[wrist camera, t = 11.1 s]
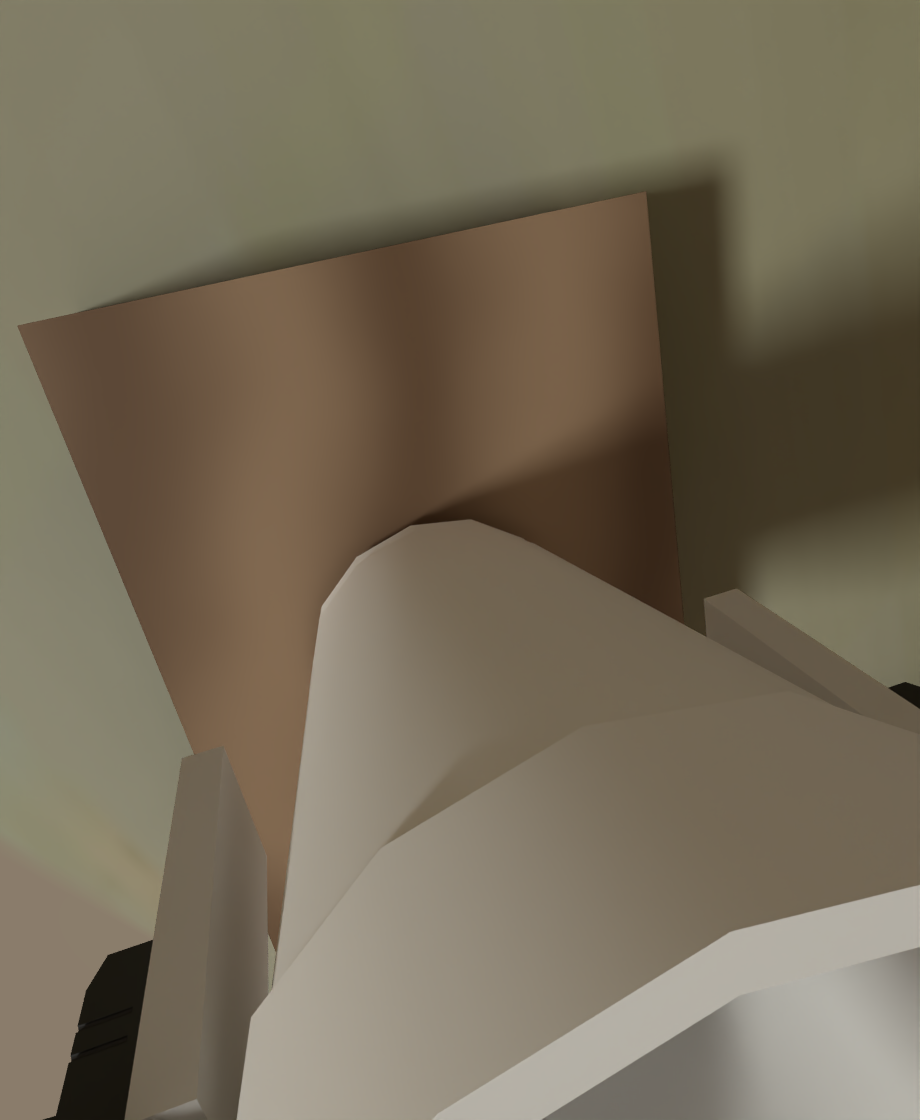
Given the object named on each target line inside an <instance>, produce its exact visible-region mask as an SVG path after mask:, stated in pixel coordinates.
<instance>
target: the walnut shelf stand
mask: <svg viewBox="0 0 920 1120" xmlns="http://www.w3.org/2000/svg"><path fill="white" fill-rule="evenodd" d="M18 329H19V331H20V333H21V336H22V338H23V341H24V343H25V345H26V348H27V350H28V353H29V355H30V358H31V360H32V362H33V365H34V367H35V370H36V372H37V375H38V377H39V379H40V382H41V384H42V387H43V389H44V391H45V394H46V396H47V399H48V401H49V404H50V406H51V408H52V411H53V413H54V416H55V418H56V421H57V423H58V425H59V428H60V430H61V433H62V435H63V438H64V440H65V442H66V445H67V447H68V450H69V452H70V454H71V457H72V459H73V462H74V464H75V467H76V469H77V471H78V474H79V476H80V479H81V481H82V484H83V486H84V488H85V491H86V493H87V496H88V498H89V500H90V503H91V505H92V508H93V510H94V513H95V515H96V517H97V520H98V522H99V525H100V527H101V530H102V532H103V534H104V537H105V539H106V542H107V544H108V546H109V549H110V551H111V554H112V556H113V559H114V561H115V563H116V566H117V568H118V571H119V573H120V576H121V578H122V580H123V583H124V585H125V588H126V590H127V593H128V595H129V597H130V600H131V602H132V605H133V607H134V609H135V612H136V614H137V617H138V619H139V622H140V624H141V626H142V629H143V631H144V634H145V636H146V639H147V641H148V643H149V646H150V648H151V651H152V653H153V655H154V658H155V660H156V663H157V665H158V668H159V670H160V672H161V675H162V677H163V680H164V682H165V685H166V687H167V689H168V692H169V694H170V697H171V699H172V701H173V704H174V706H175V709H176V711H177V714H178V716H179V718H180V721H181V723H182V726H183V728H184V731H185V733H186V735H187V738H188V740H189V743H190V745H191V748H192V750H193V752H194V754H198V753H201V752H204V751H208V750H211V749H214V748H217V747H221V746H224V748H225V751H226V753H227V756H228V759H229V761H230V764H231V766H232V769H233V771H234V774H235V776H236V779H237V781H238V784H239V787H240V789H241V792H242V794H243V797H244V799H245V802H246V804H247V807H248V810H249V812H250V815H251V817H252V820H253V822H254V825H255V827H256V830H257V832H258V835H259V838H260V840H261V843H262V845H263V848H264V850H265V853H266V855H267V918H268V934H269V936H270V939H271V941H272V944H273V946H274V949H275V951H276V950H277V942H278V934H279V926H280V918H281V910H282V902H283V894H284V887H285V879H286V871H287V863H288V855H289V847H290V839H291V831H292V823H293V815H294V807H295V799H296V791H297V783H298V775H299V768H300V760H301V752H302V744H303V736H304V728H305V720H306V712H307V704H308V696H309V688H310V680H311V673H312V666H313V659H314V652H315V645H316V639H317V632H318V625H319V618H320V614H321V607H322V605H323V604H324V602H325V601H326V600H327V598H328V597H329V595H330V594H331V592H332V591H333V590H334V588H335V587H336V585H337V584H338V583H339V581H340V580H341V578H342V577H343V575H344V574H345V573H346V571H347V570H348V568H349V567H350V566H351V564H352V563H353V561H354V560H355V558H356V557H357V556H359V555H361V554H363V553H364V552H366V551H368V550H369V549H371V548H373V547H375V546H376V545H378V544H380V543H381V542H383V541H385V540H387V539H388V538H390V537H392V536H393V535H395V534H397V533H399V532H400V531H402V530H404V529H405V528H407V527H409V526H411V525H420V524H430V523H439V522H449V521H459V520H468V519H472V520H474V521H477V522H480V523H483V524H485V525H488V526H491V527H493V528H496V529H499V530H502V531H504V532H507V533H510V534H513V535H515V536H518V537H521V538H523V539H524V540H525V541H528V542H531V543H534V544H536V545H538V546H540V547H541V548H543V549H545V550H547V551H549V552H551V553H553V554H554V555H556V556H558V557H560V558H562V559H564V560H565V561H567V562H569V563H571V564H573V565H575V566H577V567H578V568H580V569H582V570H584V571H586V572H588V573H589V574H591V575H593V576H595V577H597V578H599V579H601V580H602V581H604V582H606V583H608V584H610V585H612V586H613V587H615V588H617V589H619V590H621V591H623V592H625V593H626V594H628V595H630V596H632V597H634V598H636V599H637V600H639V601H641V602H643V603H645V604H647V605H649V606H650V607H652V608H654V609H656V610H658V611H660V612H661V613H663V614H665V615H667V616H669V617H671V618H673V619H674V620H676V621H678V622H680V623H682V624H684V616H683V605H682V593H681V582H680V571H679V559H678V548H677V537H676V525H675V514H674V502H673V491H672V480H671V468H670V457H669V445H668V434H667V423H666V411H665V400H664V389H663V377H662V366H661V354H660V343H659V332H658V320H657V309H656V297H655V286H654V275H653V263H652V252H651V241H650V229H649V218H648V206H647V195H646V191H645V192H641V193H636V194H631V195H627V196H622V197H617V198H612V199H608V200H603V201H598V202H594V203H589V204H584V205H580V206H575V207H570V208H566V209H561V210H556V211H552V212H547V213H542V214H538V215H533V216H528V217H524V218H519V219H514V220H510V221H505V222H500V223H495V224H491V225H486V226H481V227H477V228H472V229H467V230H463V231H458V232H453V233H449V234H444V235H439V236H435V237H430V238H425V239H421V240H416V241H411V242H407V243H402V244H397V245H393V246H388V247H383V248H378V249H374V250H369V251H364V252H360V253H355V254H350V255H346V256H341V257H336V258H332V259H327V260H322V261H318V262H313V263H308V264H304V265H299V266H294V267H290V268H285V269H280V270H276V271H271V272H266V273H261V274H257V275H252V276H247V277H243V278H238V279H233V280H229V281H224V282H219V283H215V284H210V285H205V286H201V287H196V288H191V289H187V290H182V291H177V292H173V293H168V294H163V295H159V296H154V297H149V298H144V299H140V300H135V301H130V302H126V303H121V304H116V305H112V306H107V307H102V308H98V309H93V310H88V311H84V312H79V313H74V314H70V315H65V316H60V317H56V318H51V319H46V320H42V321H37V322H32V323H27V324H23V325H18Z"/></svg>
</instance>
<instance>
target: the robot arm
mask: <svg viewBox="0 0 920 1120" xmlns="http://www.w3.org/2000/svg"><path fill="white" fill-rule="evenodd" d="M704 609H705V623H706V636H707V637H708V638H709V639H711V640H713V641H715V642H717V643H719V644H721V645H722V646H724V647H726V648H728V649H730V650H732V651H733V652H735V653H737V654H739V655H741V656H743V657H745V658H746V659H748V660H750V661H752V662H754V663H756V664H757V665H759V666H761V667H763V668H765V669H767V670H769V671H770V672H772V673H774V674H776V675H778V676H780V677H781V678H783V679H785V680H787V681H789V682H791V683H792V684H794V685H796V686H798V687H800V688H802V689H804V690H805V691H807V692H809V693H811V694H813V695H815V696H816V697H818V698H820V699H822V700H824V701H826V702H828V703H829V704H831V705H833V706H835V707H838V708H841V709H844V710H847V711H850V712H853V713H856V714H859V715H862V716H865V717H869V718H872V719H875V720H878V721H881V722H884V723H887V724H890V725H893V726H896V727H899V728H902V729H905V730H908V731H911V732H914V733H917V734H920V687H919V686H916V685H913V684H910V683H907V682H904V683H901V684H898V685H895V686H892V687H889V688H887V687H886V686H884V685H883V684H881V683H880V682H878V681H877V680H875V679H873V678H872V677H870V676H869V675H867V674H866V673H864V672H863V671H861V670H860V669H858V668H857V667H855V666H854V665H852V664H851V663H849V662H848V661H846V660H845V659H843V658H842V657H840V656H839V655H837V654H836V653H834V652H833V651H831V650H830V649H828V648H827V647H825V646H824V645H822V644H820V643H819V642H817V641H816V640H814V639H813V638H811V637H810V636H808V635H807V634H805V633H804V632H802V631H801V630H799V629H798V628H796V627H795V626H793V625H792V624H790V623H789V622H787V621H786V620H784V619H783V618H781V617H780V616H778V615H777V614H775V613H774V612H772V611H771V610H769V609H767V608H766V607H764V606H763V605H761V604H760V603H758V602H757V601H755V600H754V599H752V598H751V597H749V596H748V595H746V594H745V593H743V592H742V591H740V590H739V589H733V590H730V591H727V592H724V593H720V594H717V595H714V596H710V597H707V598H704ZM267 996H268V918H267V855H266V853H265V850H264V848H263V845H262V843H261V840H260V838H259V835H258V832H257V830H256V827H255V825H254V822H253V820H252V817H251V815H250V812H249V810H248V807H247V804H246V802H245V799H244V797H243V794H242V792H241V789H240V787H239V784H238V781H237V779H236V776H235V774H234V771H233V769H232V766H231V764H230V761H229V759H228V756H227V753H226V751H225V748H224V746H221V747H217V748H214V749H211V750H208V751H204V752H201V753H198V754H194V755H191V756H188V757H185V758H182V762H181V768H180V774H179V781H178V787H177V793H176V799H175V806H174V812H173V818H172V825H171V831H170V837H169V843H168V850H167V856H166V862H165V868H164V875H163V881H162V887H161V894H160V900H159V906H158V912H157V919H156V925H155V931H154V937H153V940H151V941H148V942H145V943H142V944H140V945H136V946H133V947H130V948H128V949H125V950H122V951H119V952H116V953H113V954H110V955H108V956H107V958H106V959H105V961H104V962H103V964H102V966H101V967H100V969H99V971H98V972H97V974H96V975H95V977H94V979H93V980H92V982H91V984H90V985H89V987H88V989H87V990H86V994H85V998H84V1002H83V1006H82V1010H81V1014H80V1019H79V1023H78V1029H79V1031H78V1033H76V1035H75V1039H74V1044H73V1047H72V1052H71V1062H70V1063H69V1064H68V1068H67V1073H66V1077H65V1081H64V1085H63V1089H62V1093H61V1097H60V1102H59V1105H58V1110H57V1114H56V1116H54V1117H51V1118H47V1119H44V1120H237V1113H238V1106H239V1099H240V1092H241V1085H242V1078H243V1071H244V1063H245V1056H246V1049H247V1042H248V1035H249V1028H250V1021H251V1017H252V1015H253V1014H254V1013H255V1011H256V1010H257V1009H258V1007H259V1006H260V1005H261V1004H262V1002H263V1001H264V1000H265V998H266V997H267Z"/></svg>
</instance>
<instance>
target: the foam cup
mask: <svg viewBox="0 0 920 1120" xmlns="http://www.w3.org/2000/svg"><path fill="white" fill-rule="evenodd" d="M237 1120H920V734H917V733H914V732H911V731H908V730H905V729H902V728H899V727H896V726H893V725H890V724H887V723H884V722H881V721H878V720H875V719H872V718H869V717H865V716H862V715H859V714H856V713H853V712H850V711H847V710H844V709H841V708H838V707H835V706H833V705H831V704H829V703H828V702H826V701H824V700H822V699H820V698H818V697H816V696H815V695H813V694H811V693H809V692H807V691H805V690H804V689H802V688H800V687H798V686H796V685H794V684H792V683H791V682H789V681H787V680H785V679H783V678H781V677H780V676H778V675H776V674H774V673H772V672H770V671H769V670H767V669H765V668H763V667H761V666H759V665H757V664H756V663H754V662H752V661H750V660H748V659H746V658H745V657H743V656H741V655H739V654H737V653H735V652H733V651H732V650H730V649H728V648H726V647H724V646H722V645H721V644H719V643H717V642H715V641H713V640H711V639H709V638H708V637H706V636H704V635H702V634H700V633H698V632H697V631H695V630H693V629H691V628H689V627H687V626H685V625H684V624H682V623H680V622H678V621H676V620H674V619H673V618H671V617H669V616H667V615H665V614H663V613H661V612H660V611H658V610H656V609H654V608H652V607H650V606H649V605H647V604H645V603H643V602H641V601H639V600H637V599H636V598H634V597H632V596H630V595H628V594H626V593H625V592H623V591H621V590H619V589H617V588H615V587H613V586H612V585H610V584H608V583H606V582H604V581H602V580H601V579H599V578H597V577H595V576H593V575H591V574H589V573H588V572H586V571H584V570H582V569H580V568H578V567H577V566H575V565H573V564H571V563H569V562H567V561H565V560H564V559H562V558H560V557H558V556H556V555H554V554H553V553H551V552H549V551H547V550H545V549H543V548H541V547H540V546H538V545H536V544H534V543H531V542H528V541H525V540H524V539H523V538H521V537H518V536H515V535H513V534H510V533H507V532H504V531H502V530H499V529H496V528H493V527H491V526H488V525H485V524H483V523H480V522H477V521H474V520H472V519H468V520H459V521H449V522H439V523H430V524H420V525H411V526H409V527H407V528H405V529H404V530H402V531H400V532H399V533H397V534H395V535H393V536H392V537H390V538H388V539H387V540H385V541H383V542H381V543H380V544H378V545H376V546H375V547H373V548H371V549H369V550H368V551H366V552H364V553H363V554H361V555H359V556H357V557H356V558H355V560H354V561H353V563H352V564H351V566H350V567H349V568H348V570H347V571H346V573H345V574H344V575H343V577H342V578H341V580H340V581H339V583H338V584H337V585H336V587H335V588H334V590H333V591H332V592H331V594H330V595H329V597H328V598H327V600H326V601H325V602H324V604H323V605H322V607H321V614H320V618H319V625H318V632H317V639H316V645H315V652H314V659H313V666H312V673H311V680H310V688H309V696H308V704H307V712H306V720H305V728H304V736H303V744H302V752H301V760H300V768H299V775H298V783H297V791H296V799H295V807H294V815H293V823H292V831H291V839H290V847H289V855H288V863H287V871H286V879H285V887H284V894H283V902H282V910H281V918H280V926H279V934H278V942H277V950H276V958H275V966H274V974H273V982H272V990H271V992H270V993H269V994H268V996H267V997H266V998H265V1000H264V1001H263V1002H262V1004H261V1005H260V1006H259V1007H258V1009H257V1010H256V1011H255V1013H254V1014H253V1015H252V1017H251V1021H250V1028H249V1035H248V1042H247V1049H246V1056H245V1063H244V1071H243V1078H242V1085H241V1092H240V1099H239V1106H238V1113H237Z"/></svg>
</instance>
